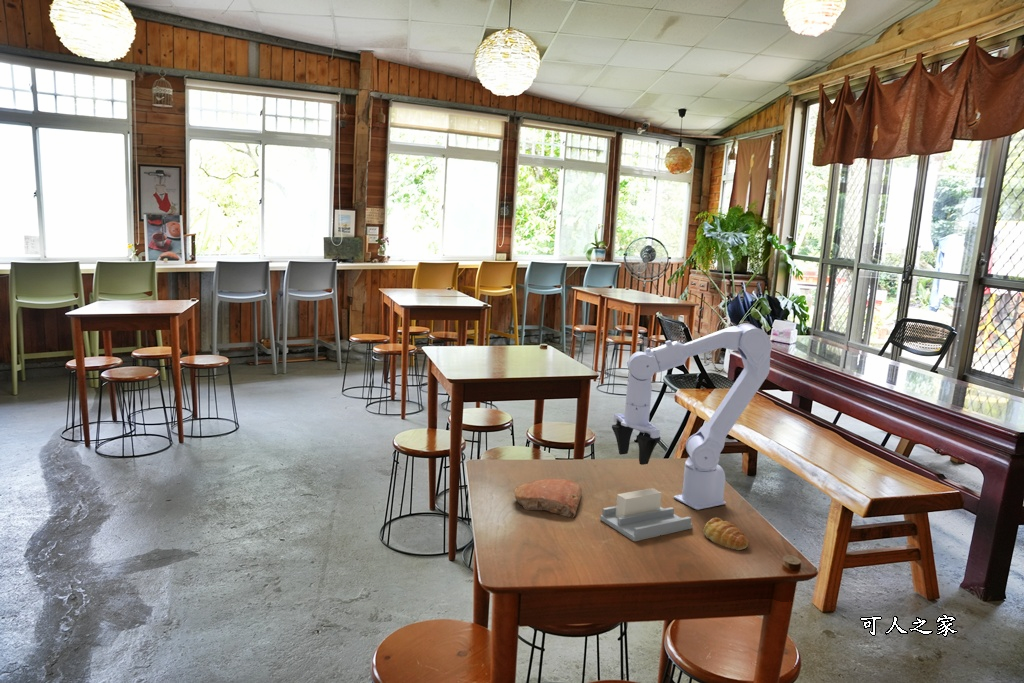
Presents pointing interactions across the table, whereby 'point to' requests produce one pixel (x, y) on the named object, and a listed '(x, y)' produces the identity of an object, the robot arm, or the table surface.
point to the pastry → (725, 534)
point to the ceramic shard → (550, 496)
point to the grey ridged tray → (646, 523)
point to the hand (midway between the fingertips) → (633, 458)
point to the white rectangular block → (638, 502)
